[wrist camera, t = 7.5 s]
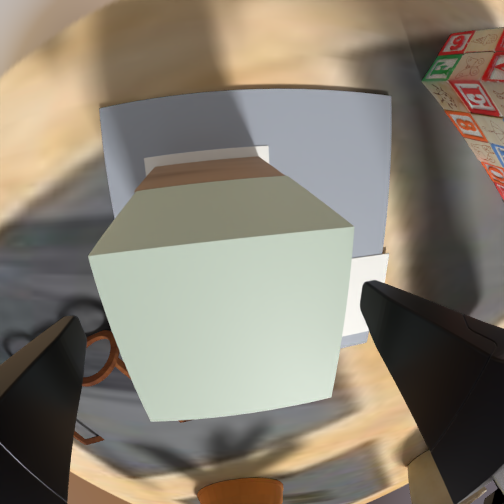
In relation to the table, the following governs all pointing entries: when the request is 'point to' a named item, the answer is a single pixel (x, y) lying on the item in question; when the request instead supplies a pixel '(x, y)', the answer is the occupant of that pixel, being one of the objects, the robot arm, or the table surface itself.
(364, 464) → the table surface
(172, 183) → the walnut block
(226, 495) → the decorative plant
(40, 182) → the table surface
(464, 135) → the stack of blocks
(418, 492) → the plant pot
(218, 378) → the sage block
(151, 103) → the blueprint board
